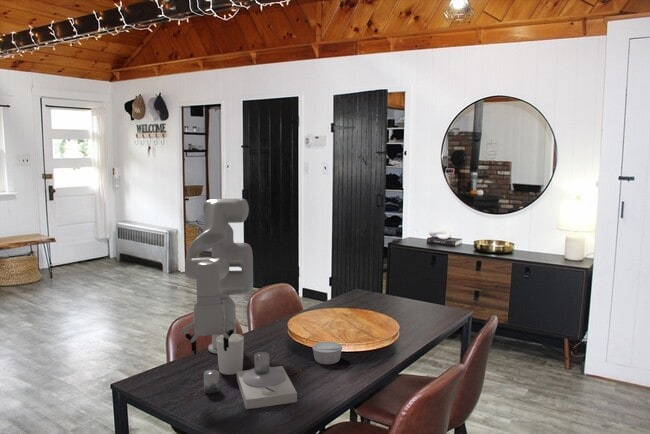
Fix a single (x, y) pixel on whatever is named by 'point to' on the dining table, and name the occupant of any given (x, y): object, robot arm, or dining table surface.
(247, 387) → the scale
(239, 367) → the candle holder
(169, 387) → the dining table surface
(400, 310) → the dining table surface
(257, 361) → the disc
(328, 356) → the ramekin
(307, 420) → the dining table surface
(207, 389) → the cylinder
